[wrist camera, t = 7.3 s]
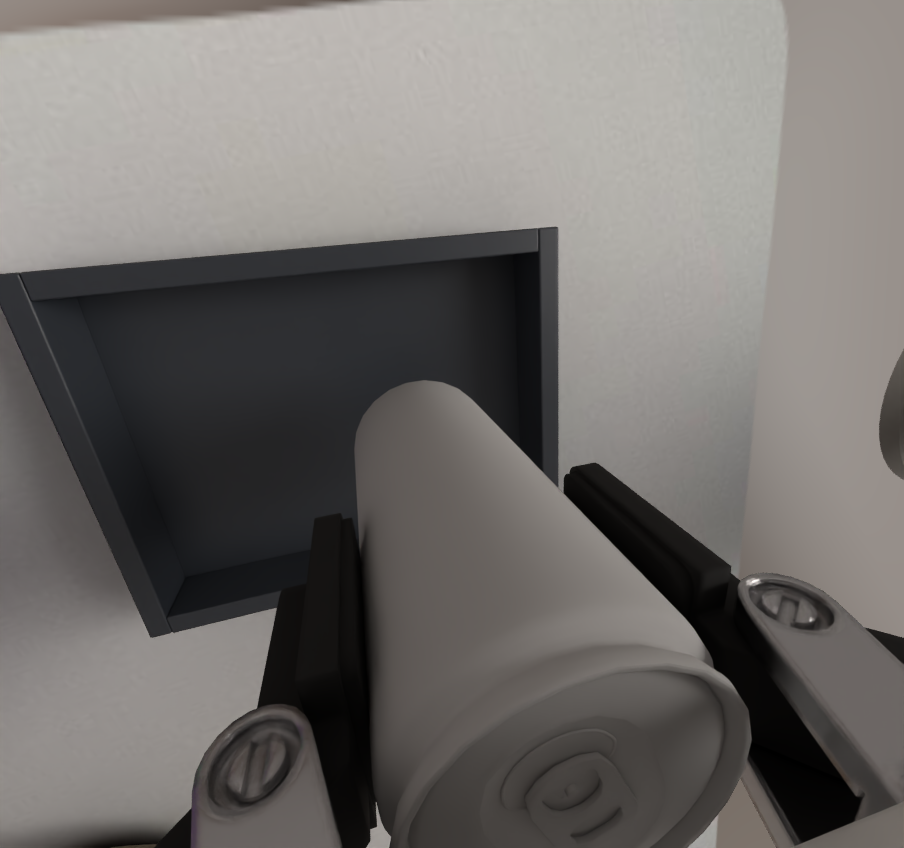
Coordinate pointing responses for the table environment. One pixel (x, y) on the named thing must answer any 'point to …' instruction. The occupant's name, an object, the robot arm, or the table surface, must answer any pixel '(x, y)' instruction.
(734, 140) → the table surface
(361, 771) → the robot arm
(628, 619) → the beverage can
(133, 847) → the bowl
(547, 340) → the tray
